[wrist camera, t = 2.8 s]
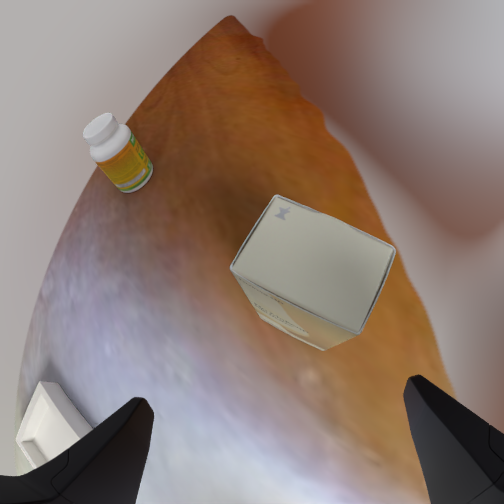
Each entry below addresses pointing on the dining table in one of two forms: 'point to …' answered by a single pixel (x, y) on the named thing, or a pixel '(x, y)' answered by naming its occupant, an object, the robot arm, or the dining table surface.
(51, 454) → the holder tray
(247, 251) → the skincare box
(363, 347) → the dining table surface
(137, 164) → the supplement bottle
